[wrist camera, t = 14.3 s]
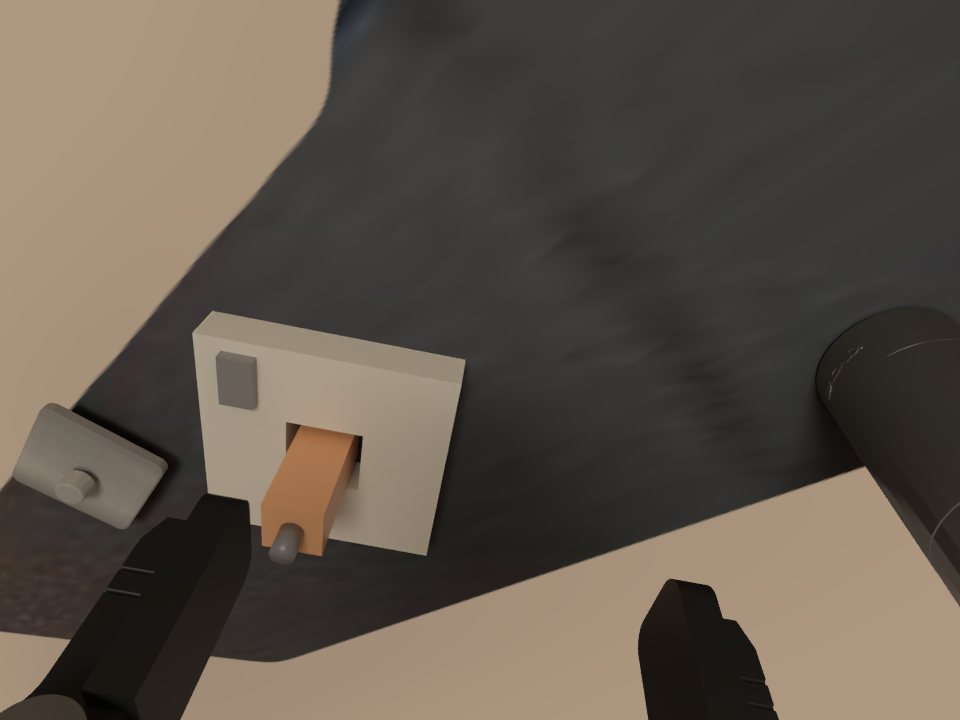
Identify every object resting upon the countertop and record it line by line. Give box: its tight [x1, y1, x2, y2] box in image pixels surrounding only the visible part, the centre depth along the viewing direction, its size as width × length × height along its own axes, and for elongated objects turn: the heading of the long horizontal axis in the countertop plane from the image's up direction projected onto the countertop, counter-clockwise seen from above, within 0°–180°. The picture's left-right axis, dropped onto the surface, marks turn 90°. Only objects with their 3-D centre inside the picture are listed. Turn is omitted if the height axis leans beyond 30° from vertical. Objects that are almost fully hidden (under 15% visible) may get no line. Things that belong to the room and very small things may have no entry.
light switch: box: [13, 403, 168, 529], centre depth 48 cm, size 10×10×5 cm
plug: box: [261, 425, 360, 565], centre depth 42 cm, size 4×4×12 cm
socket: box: [192, 311, 466, 556], centre depth 46 cm, size 18×18×4 cm
